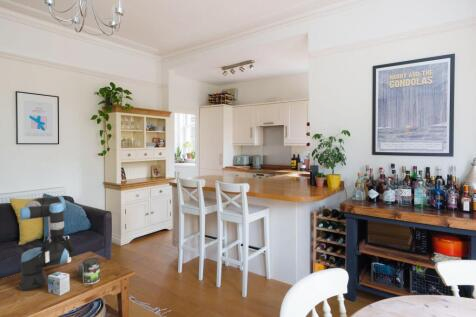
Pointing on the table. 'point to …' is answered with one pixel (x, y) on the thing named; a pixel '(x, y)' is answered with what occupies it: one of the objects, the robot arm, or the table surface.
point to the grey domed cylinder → (80, 269)
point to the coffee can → (91, 270)
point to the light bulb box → (58, 283)
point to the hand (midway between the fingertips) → (58, 262)
